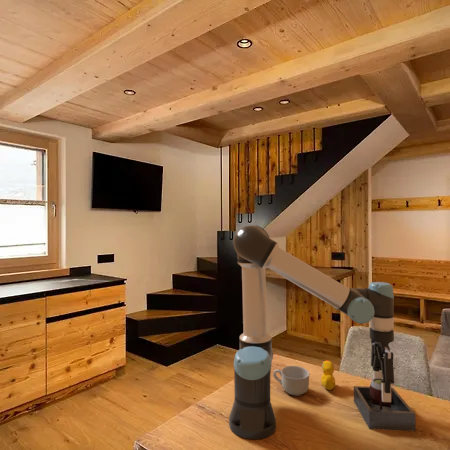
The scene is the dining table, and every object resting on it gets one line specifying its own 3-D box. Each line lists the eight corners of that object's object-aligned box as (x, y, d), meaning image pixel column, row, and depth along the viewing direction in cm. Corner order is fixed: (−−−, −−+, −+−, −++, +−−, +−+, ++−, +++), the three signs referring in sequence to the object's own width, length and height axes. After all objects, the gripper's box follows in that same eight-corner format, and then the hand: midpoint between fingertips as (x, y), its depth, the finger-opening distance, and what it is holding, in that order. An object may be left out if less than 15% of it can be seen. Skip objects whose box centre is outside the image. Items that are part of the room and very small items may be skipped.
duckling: (320, 380, 141) (320, 356, 141) (333, 381, 139) (333, 357, 139) (322, 393, 130) (321, 367, 130) (336, 394, 128) (336, 368, 128)
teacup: (313, 389, 132) (313, 369, 132) (303, 401, 123) (303, 380, 123) (280, 381, 140) (280, 361, 140) (269, 392, 131) (269, 371, 131)
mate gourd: (370, 398, 119) (370, 355, 119) (395, 403, 116) (394, 359, 116) (369, 408, 113) (368, 363, 113) (395, 414, 109) (395, 367, 109)
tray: (369, 428, 107) (369, 411, 107) (353, 401, 124) (353, 386, 124) (415, 431, 105) (415, 413, 106) (393, 402, 122) (393, 387, 122)
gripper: (406, 338, 104) (406, 412, 104) (381, 320, 124) (382, 382, 124) (381, 337, 105) (381, 411, 105) (360, 319, 125) (361, 381, 125)
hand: (382, 395), depth 115 cm, fingers closed on mate gourd, 7 cm apart
